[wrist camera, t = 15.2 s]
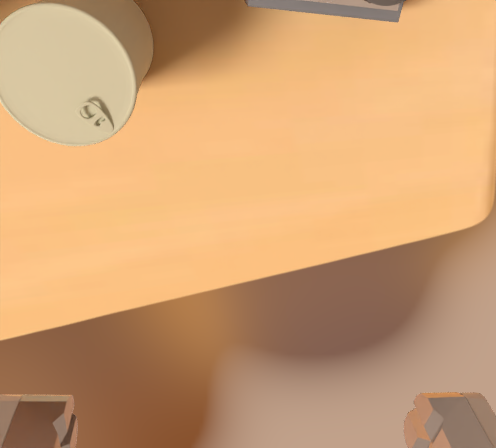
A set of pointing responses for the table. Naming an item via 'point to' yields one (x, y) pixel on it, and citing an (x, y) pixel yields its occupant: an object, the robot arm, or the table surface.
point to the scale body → (329, 9)
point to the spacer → (385, 2)
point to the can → (74, 67)
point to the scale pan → (358, 4)
